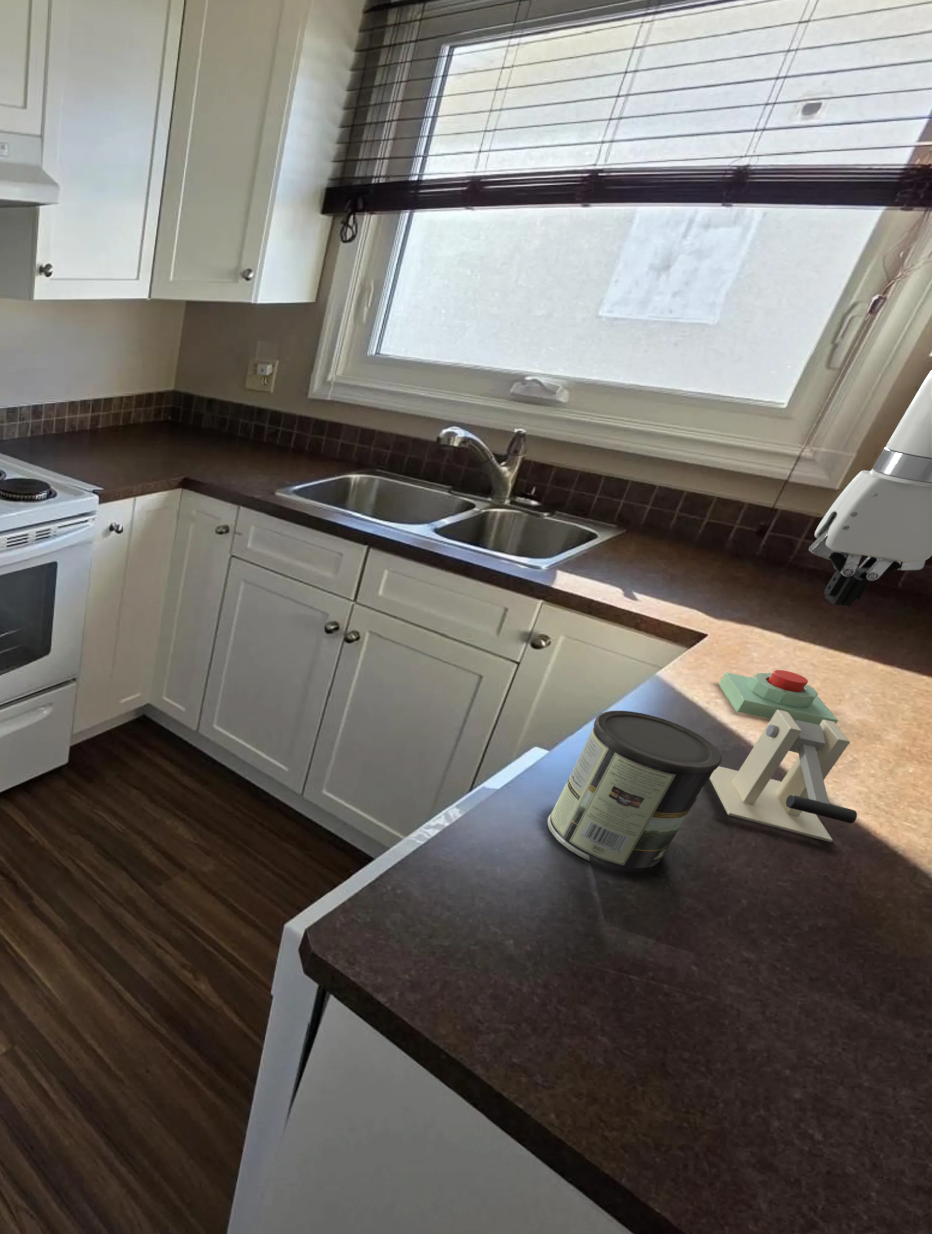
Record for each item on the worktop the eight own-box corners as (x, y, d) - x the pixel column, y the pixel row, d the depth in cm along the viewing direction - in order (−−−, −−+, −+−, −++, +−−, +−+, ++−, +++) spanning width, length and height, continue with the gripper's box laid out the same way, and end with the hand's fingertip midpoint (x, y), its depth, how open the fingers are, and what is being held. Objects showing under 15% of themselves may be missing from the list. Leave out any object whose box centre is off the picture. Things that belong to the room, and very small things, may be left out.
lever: (846, 828, 81) (861, 816, 79) (783, 812, 83) (797, 800, 81) (824, 741, 88) (837, 728, 86) (767, 728, 90) (779, 716, 88)
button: (796, 684, 111) (802, 673, 110) (805, 696, 108) (812, 685, 107) (763, 677, 112) (770, 667, 112) (772, 689, 110) (778, 678, 109)
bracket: (827, 848, 86) (890, 763, 81) (724, 820, 90) (777, 737, 84) (791, 792, 95) (845, 712, 89) (699, 769, 98) (745, 691, 93)
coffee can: (638, 823, 89) (696, 722, 82) (674, 886, 80) (742, 778, 74) (535, 800, 92) (583, 701, 85) (559, 858, 84) (614, 753, 77)
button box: (805, 702, 114) (819, 679, 112) (829, 733, 106) (845, 709, 105) (718, 684, 118) (731, 661, 116) (736, 713, 111) (750, 689, 109)
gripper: (988, 470, 95) (899, 604, 104) (827, 452, 101) (755, 580, 110) (1024, 486, 89) (927, 626, 98) (851, 466, 95) (774, 599, 104)
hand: (836, 601), depth 104 cm, fingers closed
